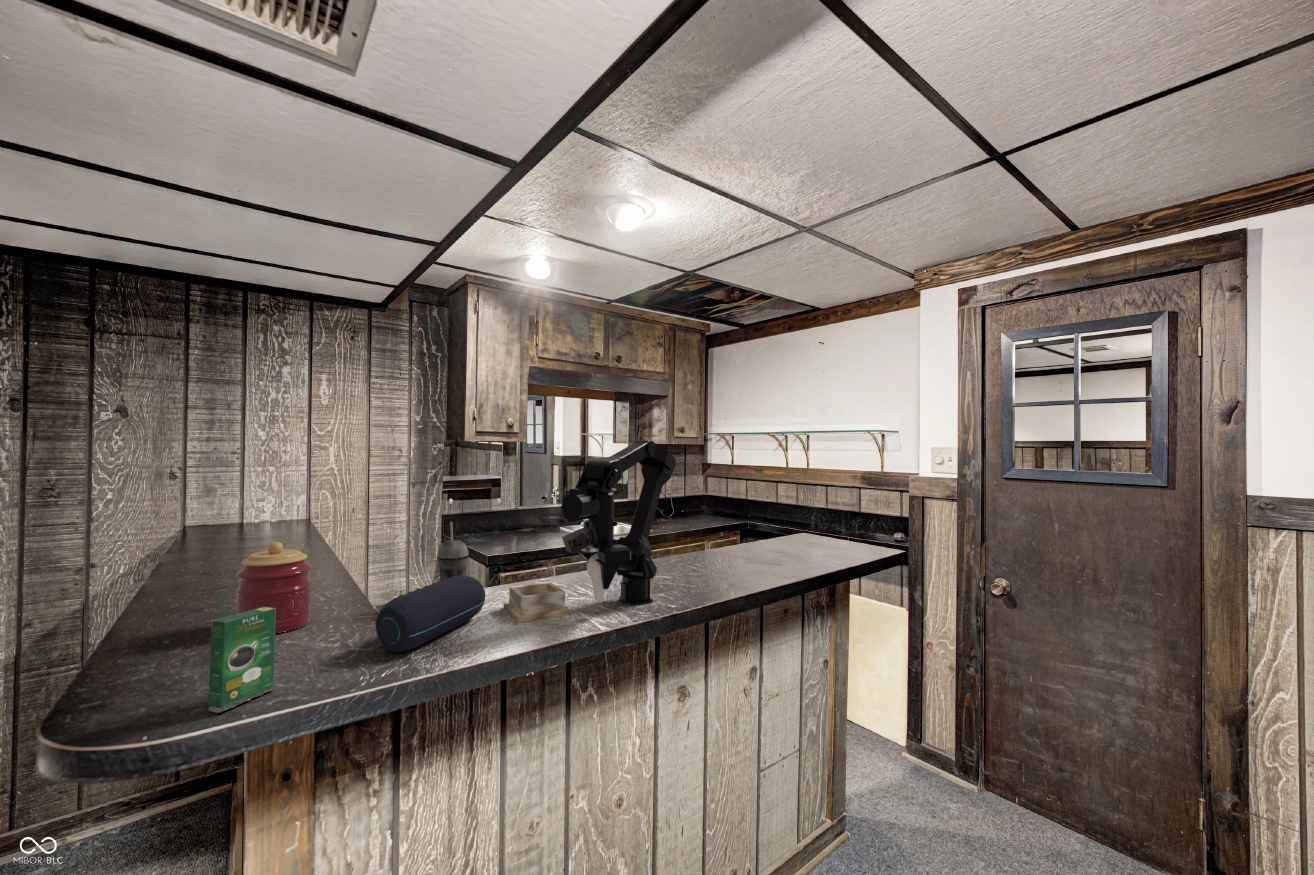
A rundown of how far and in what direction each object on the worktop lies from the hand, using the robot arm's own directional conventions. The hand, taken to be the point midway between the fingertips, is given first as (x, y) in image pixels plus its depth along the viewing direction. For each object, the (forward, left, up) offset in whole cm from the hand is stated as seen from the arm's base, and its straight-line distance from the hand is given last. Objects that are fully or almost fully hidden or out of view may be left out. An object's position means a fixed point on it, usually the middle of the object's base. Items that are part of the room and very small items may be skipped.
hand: (600, 586), depth 122 cm
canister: (+62, -27, -7) cm, 68 cm away
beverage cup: (+27, -25, -7) cm, 37 cm away
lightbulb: (0, 0, -4) cm, 4 cm away
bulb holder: (+11, -11, -7) cm, 17 cm away
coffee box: (+63, +10, -7) cm, 64 cm away
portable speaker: (+34, -6, -7) cm, 35 cm away
